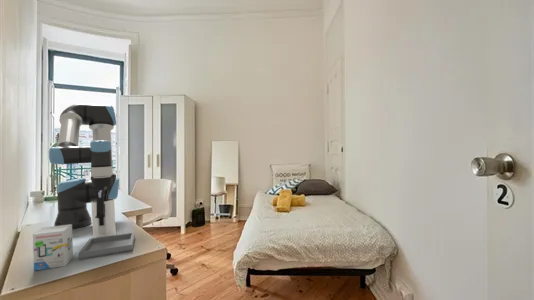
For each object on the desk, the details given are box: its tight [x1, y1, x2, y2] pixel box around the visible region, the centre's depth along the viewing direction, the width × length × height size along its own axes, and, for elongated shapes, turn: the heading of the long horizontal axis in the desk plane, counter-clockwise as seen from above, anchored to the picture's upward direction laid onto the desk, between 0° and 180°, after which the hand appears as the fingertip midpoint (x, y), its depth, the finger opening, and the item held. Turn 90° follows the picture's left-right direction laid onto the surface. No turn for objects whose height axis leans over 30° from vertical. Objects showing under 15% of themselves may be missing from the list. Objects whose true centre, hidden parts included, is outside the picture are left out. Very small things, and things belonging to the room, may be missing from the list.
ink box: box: [32, 224, 74, 271], centre depth 87 cm, size 8×8×12 cm
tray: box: [78, 231, 136, 261], centre depth 100 cm, size 16×16×2 cm
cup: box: [90, 198, 117, 238], centre depth 112 cm, size 8×8×16 cm
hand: (104, 229), depth 112 cm, fingers closed on cup, 8 cm apart
